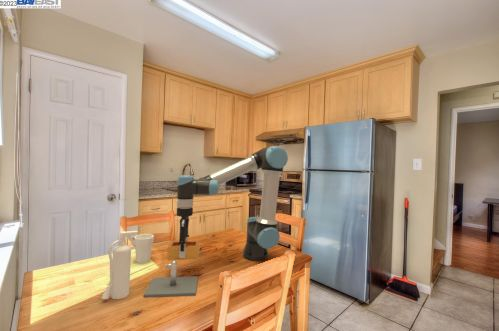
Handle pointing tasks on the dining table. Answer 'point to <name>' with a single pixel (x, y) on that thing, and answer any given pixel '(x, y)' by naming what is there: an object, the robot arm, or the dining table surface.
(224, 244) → the dining table surface
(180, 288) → the keeper plate
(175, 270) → the hook
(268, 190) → the robot arm
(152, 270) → the dining table surface
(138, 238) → the foam cup
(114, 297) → the fire extinguisher
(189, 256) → the framed display niche
